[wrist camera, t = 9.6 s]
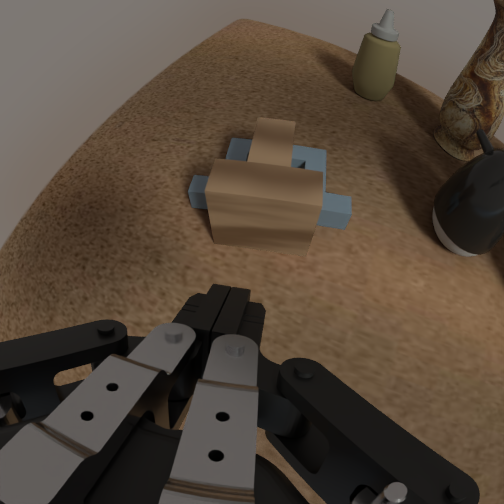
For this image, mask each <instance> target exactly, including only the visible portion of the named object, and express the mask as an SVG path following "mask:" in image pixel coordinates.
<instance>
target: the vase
mask: <svg viewBox="0 0 504 504" xmlns="http://www.w3.org/2000/svg"><path fill="white" fill-rule="evenodd" d="M494 4H495V9H496V14H495V18H494V20H493V22H492V24H491V26H490V28H489V30H488V32H487V33H486V35H485V37H484V38H483V40H482V42H481V43H480V45H479V47H478V48H477V50H476V51H475V53H474V54H473V56H472V57H471V59H470V60H469V62H468V63H467V65H466V66H465V67H464V69H463V70H462V72H461V73H460V75H459V76H458V78H457V79H456V81H455V82H454V83H453V85H452V87H451V88H450V90H449V92H448V94H447V95H446V97H445V99H444V102H443V104H442V107H441V111H440V123H441V125H440V126H438V127H436V128H435V129H434V137H435V139H436V140H437V142H438V143H439V145H440V146H441V147H442V148H443V149H444V150H445V151H447V152H448V153H449V154H450V155H452V156H453V157H455V158H457V159H460V160H463V161H470V160H472V158H473V156H474V150H479V149H482V147H481V144H480V142H479V139H478V137H477V135H476V131H477V130H479V129H483V130H484V132H485V134H486V135H487V137H488V139H489V141H490V140H491V138H492V137H493V135H494V134H495V132H496V131H497V129H498V127H499V125H500V123H501V121H502V118H503V116H504V0H494Z"/></svg>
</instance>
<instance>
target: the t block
mask: <svg viewBox="0 0 504 504" xmlns="http://www.w3.org/2000/svg"><path fill="white" fill-rule="evenodd" d="M294 132H295V122H294V121H287V120H279V119H271V118H262V117H258V119H257V123H256V127H255V131H254V135H253V140H252V144H251V148H250V152H249V156H248V160H247V161H238V160H228V159H218V158H215V160H214V163H213V166H212V169H211V172H210V175H209V179H208V182H207V185H206V188H205V196H206V202H207V207H208V213H209V218H210V224H211V229H212V234H213V240H214V244H221V245H228V246H235V247H242V248H249V249H256V250H263V251H270V252H277V253H284V254H291V255H298V256H305V257H306V255H307V252H308V249H309V246H310V243H311V240H312V237H313V234H314V231H315V228H316V225H317V222H318V219H319V215H320V212H321V209H322V204H323V172H320V171H314V170H308V169H301V168H294V167H291V160H292V151H293V142H294Z"/></svg>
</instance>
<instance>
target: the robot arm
mask: <svg viewBox="0 0 504 504" xmlns="http://www.w3.org/2000/svg"><path fill="white" fill-rule="evenodd" d="M250 292H251V290H249V289H243V288H237V287H232V288H231V287H230V286H224V285H218V284H213V285H212V286H211V288H210V289H209V291H208V293H207V294H201V293H197V294H195V295H193V296H191V297H189V299H188V300H187V302H186V303H185V305H184V306H183V307H182V309H181V310H180V311H179V313H178V314H177V316H176V317H175V318H174V320H173V321H172V323H165V324H161V325H159V326H157V327H155V328H154V329H153V330H152V331H151V332H150V333H149V334H148V335H147V336H146V337H137V336H128V335H127V328H126V326H125V325H124V324H122V323H121V322H119V321H115V320H99V321H94V322H90V323H86V324H82V325H77V326H73V327H69V328H64V329H60V330H55V331H51V332H46V333H42V334H37V335H33V336H28V337H23V338H19V339H14V340H9V341H4V342H0V504H309V503H308V502H307V500H306V499H305V498H304V497H303V496H302V495H301V493H300V492H299V491H298V490H297V489H296V488H295V486H294V485H293V484H292V483H291V482H290V480H289V479H288V478H287V477H286V476H285V474H284V473H283V472H282V471H280V470H279V469H278V468H277V467H276V466H275V465H274V464H272V463H271V462H270V461H268V460H267V459H265V458H263V457H262V456H260V455H258V454H256V435H257V427H259V428H262V429H264V430H265V434H266V437H267V439H268V440H269V441H270V443H271V444H272V445H273V446H274V447H275V448H276V450H277V451H278V452H279V453H280V454H281V455H282V456H283V457H284V459H285V460H286V461H287V462H288V463H289V464H290V465H291V466H292V467H293V469H294V470H295V471H296V472H297V473H298V474H299V475H300V476H301V477H302V478H303V479H304V480H305V482H306V483H307V484H308V485H309V486H310V487H311V488H312V489H313V490H314V491H315V492H316V493H317V494H318V495H319V496H320V497H321V498H322V499H323V500H324V501H325V502H326V503H327V504H478V502H479V496H480V493H479V488H478V486H477V484H476V482H475V481H474V480H473V479H472V478H471V477H470V476H469V475H467V474H466V473H464V472H463V471H462V470H460V469H459V468H457V467H456V466H454V465H453V464H451V463H450V462H449V461H447V460H446V459H444V458H443V457H442V456H440V455H439V454H437V453H436V452H435V451H433V450H432V449H430V448H429V447H428V446H426V445H425V444H423V443H422V442H421V441H419V440H418V439H417V438H415V437H414V436H413V435H411V434H410V433H409V432H407V431H406V430H404V429H403V428H402V427H400V426H399V425H398V424H396V423H395V422H394V421H392V420H391V419H390V418H389V417H387V416H386V415H385V414H383V413H382V412H381V411H379V410H378V409H377V408H375V407H374V406H373V405H372V404H370V403H369V402H368V401H366V400H365V399H364V398H362V397H361V396H360V395H359V394H357V393H356V392H355V391H354V390H352V389H351V388H350V387H348V386H347V385H346V384H345V383H343V382H342V381H341V380H340V379H338V378H337V377H336V376H335V375H333V374H332V373H331V372H330V371H328V370H327V369H326V368H325V367H323V366H322V365H321V364H319V363H318V362H316V361H313V360H310V359H306V358H292V359H288V360H286V361H284V362H283V363H282V364H281V365H279V364H276V363H274V362H272V361H270V360H268V359H267V358H265V357H264V356H263V355H262V353H261V352H260V343H261V337H262V331H263V325H264V319H265V312H266V310H265V308H264V307H263V305H262V304H261V303H255V302H249V301H250ZM90 363H91V367H92V373H91V374H90V375H89V376H88V377H87V378H86V379H84V380H80V381H77V382H73V383H69V384H66V385H62V386H56V385H54V382H53V380H54V377H55V375H56V374H57V373H58V372H60V371H64V370H68V369H71V368H75V367H79V366H82V365H86V364H90ZM188 411H189V412H188ZM187 413H188V415H187ZM186 415H187V418H186V422H185V425H184V429H183V430H179V428H180V426H181V424H182V422H183V420H184V418H185V417H186Z"/></svg>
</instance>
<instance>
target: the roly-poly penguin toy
mask: <svg viewBox="0 0 504 504" xmlns="http://www.w3.org/2000/svg"><path fill="white" fill-rule="evenodd" d="M476 135H477V137H478V139H479V142H480V144H481V147H482V149H483V152H484V153H482V154H481V155H479V156H477V157H475V158H473V159H472V160H470V161H469V162H467V163H466V164H464V165H463V166H462V167H461V168H459V169H458V170H457V171H456V172H455V173H454V174H453V175H452V176H451V177H450V178H449V179H448V180H447V181H446V182H445V183H444V184H443V186H442V187H441V188H440V189H439V191H438V192H437V194H436V196H435V200H434V208H433V225H434V229H435V232H436V234H437V236H438V238H439V239H440V241H441V242H442V243H443V245H444V246H445V247H446V248H448V249H449V250H450V251H452V252H453V253H455V254H458V255H461V256H475V255H481V254H485V253H487V252H488V251H490V250H491V249H492V248H493V247H494V246H495V245H496V244H497V243H498V241H499V240H500V239H501V238H502V236H503V235H504V149H494V148H493V146H492V144H491V143H490V141H489V139H488V137H487V135H486V134H485V132H484V130H483V129H479V130H477V131H476Z"/></svg>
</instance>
